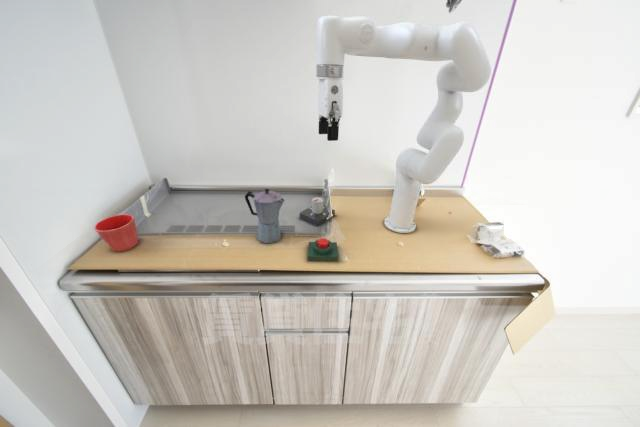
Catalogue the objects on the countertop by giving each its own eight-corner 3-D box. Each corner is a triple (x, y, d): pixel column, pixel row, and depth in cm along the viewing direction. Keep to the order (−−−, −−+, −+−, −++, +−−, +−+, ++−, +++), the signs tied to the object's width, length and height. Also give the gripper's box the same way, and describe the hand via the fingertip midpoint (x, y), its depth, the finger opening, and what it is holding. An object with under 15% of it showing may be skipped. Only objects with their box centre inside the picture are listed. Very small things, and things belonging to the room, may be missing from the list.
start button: (328, 242, 83) (328, 238, 82) (328, 248, 80) (328, 244, 79) (317, 242, 83) (317, 238, 82) (317, 248, 80) (317, 244, 79)
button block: (336, 247, 87) (337, 238, 85) (337, 261, 80) (338, 252, 78) (308, 246, 87) (308, 237, 85) (307, 261, 80) (307, 251, 78)
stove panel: (317, 208, 112) (317, 202, 111) (334, 216, 107) (335, 209, 105) (299, 218, 104) (299, 212, 103) (317, 226, 99) (317, 220, 97)
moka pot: (283, 247, 86) (279, 196, 76) (243, 241, 89) (235, 192, 79) (291, 232, 94) (289, 185, 85) (254, 228, 97) (248, 181, 87)
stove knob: (316, 207, 107) (317, 195, 104) (325, 211, 104) (325, 198, 101) (309, 211, 104) (309, 199, 101) (318, 215, 101) (318, 202, 98)
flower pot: (101, 257, 80) (88, 233, 75) (112, 239, 88) (101, 216, 84) (139, 250, 83) (128, 227, 78) (146, 234, 92) (137, 211, 87)
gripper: (354, 73, 60) (349, 142, 68) (333, 74, 75) (330, 131, 83) (325, 72, 58) (323, 143, 67) (309, 73, 73) (309, 132, 81)
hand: (327, 137), depth 75 cm, fingers open, 9 cm apart
